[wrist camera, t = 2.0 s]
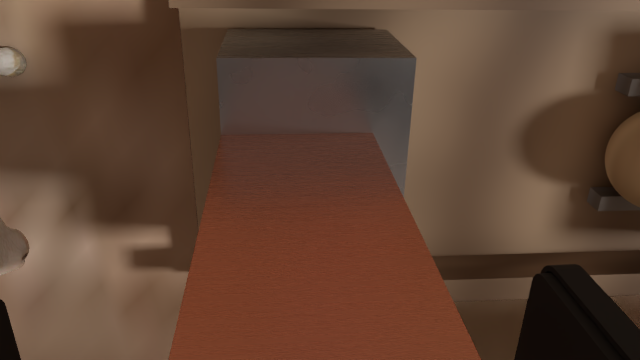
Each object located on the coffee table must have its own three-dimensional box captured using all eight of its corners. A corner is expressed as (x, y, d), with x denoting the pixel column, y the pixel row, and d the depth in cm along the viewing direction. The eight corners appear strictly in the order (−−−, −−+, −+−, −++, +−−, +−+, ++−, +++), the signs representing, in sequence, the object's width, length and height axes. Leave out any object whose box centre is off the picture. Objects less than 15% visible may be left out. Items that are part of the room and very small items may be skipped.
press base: (820, -36, 19) (1044, -18, 14) (711, 255, 24) (842, 355, 19) (180, -44, 18) (137, -27, 12) (206, 271, 23) (185, 387, 17)
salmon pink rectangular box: (386, 29, 18) (619, 250, 6) (372, 244, 21) (501, 658, 9) (227, 29, 17) (133, 264, 5) (239, 248, 21) (197, 685, 9)
